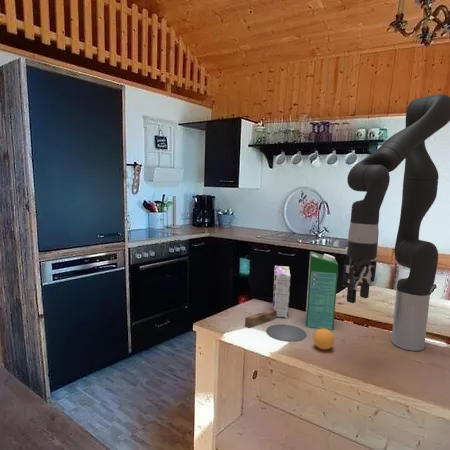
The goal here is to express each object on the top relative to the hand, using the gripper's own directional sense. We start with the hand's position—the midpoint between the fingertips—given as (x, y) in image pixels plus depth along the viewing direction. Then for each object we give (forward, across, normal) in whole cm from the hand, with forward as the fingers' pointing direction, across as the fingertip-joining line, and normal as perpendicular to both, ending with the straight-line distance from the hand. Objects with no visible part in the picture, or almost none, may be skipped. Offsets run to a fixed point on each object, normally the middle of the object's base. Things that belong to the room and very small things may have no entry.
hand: (357, 299), depth 98 cm
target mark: (+18, 0, +24) cm, 29 cm away
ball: (+15, 0, +10) cm, 18 cm away
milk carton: (+18, +16, +22) cm, 32 cm away
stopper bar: (+18, 0, +34) cm, 39 cm away
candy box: (+18, +14, +38) cm, 44 cm away
